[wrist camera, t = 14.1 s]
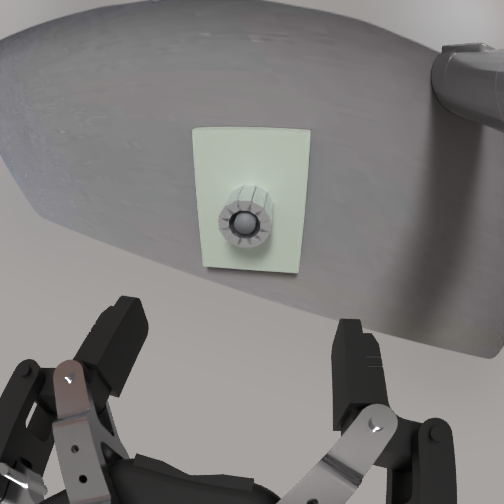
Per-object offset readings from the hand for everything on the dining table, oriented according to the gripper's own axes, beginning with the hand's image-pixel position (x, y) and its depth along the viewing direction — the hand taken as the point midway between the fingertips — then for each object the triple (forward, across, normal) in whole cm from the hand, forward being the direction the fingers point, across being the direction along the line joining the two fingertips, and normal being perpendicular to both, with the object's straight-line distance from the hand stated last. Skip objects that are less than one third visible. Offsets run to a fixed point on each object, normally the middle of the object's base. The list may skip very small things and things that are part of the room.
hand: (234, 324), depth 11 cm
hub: (+27, +3, +8) cm, 28 cm away
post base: (+29, +3, +8) cm, 30 cm away
